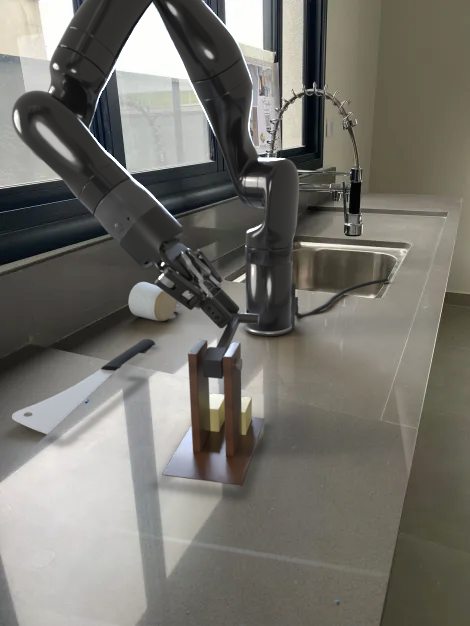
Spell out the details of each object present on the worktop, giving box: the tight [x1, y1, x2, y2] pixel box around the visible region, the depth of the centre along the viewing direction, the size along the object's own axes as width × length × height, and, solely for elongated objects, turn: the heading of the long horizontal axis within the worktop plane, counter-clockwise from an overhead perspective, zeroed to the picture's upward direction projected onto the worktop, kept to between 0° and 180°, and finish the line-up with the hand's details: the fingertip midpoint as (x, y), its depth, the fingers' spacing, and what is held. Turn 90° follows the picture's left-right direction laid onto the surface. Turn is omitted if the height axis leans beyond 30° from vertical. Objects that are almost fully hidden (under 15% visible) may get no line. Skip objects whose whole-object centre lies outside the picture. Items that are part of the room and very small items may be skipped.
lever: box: [202, 312, 260, 380], centre depth 61 cm, size 13×6×2 cm, turn 167°
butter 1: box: [209, 392, 225, 432], centre depth 64 cm, size 4×2×3 cm, turn 167°
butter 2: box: [241, 395, 253, 435], centre depth 63 cm, size 4×2×3 cm, turn 167°
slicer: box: [161, 339, 265, 486], centre depth 58 cm, size 14×9×14 cm, turn 167°
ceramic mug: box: [128, 281, 181, 322], centre depth 109 cm, size 11×8×8 cm
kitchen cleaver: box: [11, 338, 156, 435], centre depth 78 cm, size 31×2×10 cm
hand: (230, 318), depth 65 cm, fingers closed on lever, 3 cm apart
